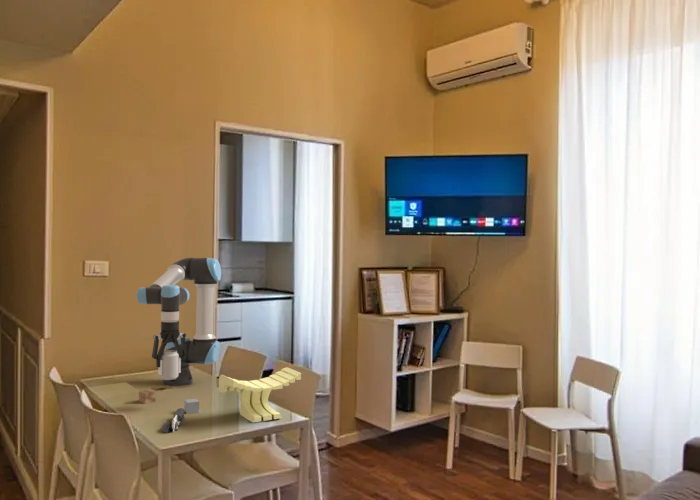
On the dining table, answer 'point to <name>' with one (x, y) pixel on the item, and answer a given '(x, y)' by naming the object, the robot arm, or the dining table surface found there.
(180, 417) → the can opener
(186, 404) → the slate grey block
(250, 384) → the slatted curved stool
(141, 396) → the walnut block
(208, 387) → the dining table surface
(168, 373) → the can
